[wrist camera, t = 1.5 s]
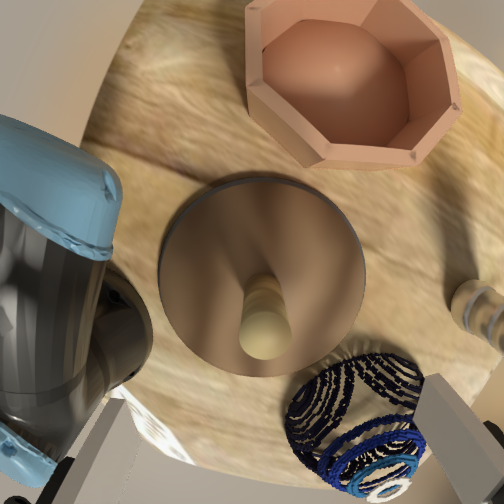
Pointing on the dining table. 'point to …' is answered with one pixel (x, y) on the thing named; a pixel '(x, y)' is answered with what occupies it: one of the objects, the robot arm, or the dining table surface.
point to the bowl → (350, 81)
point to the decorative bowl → (358, 430)
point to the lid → (262, 279)
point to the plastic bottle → (480, 312)
